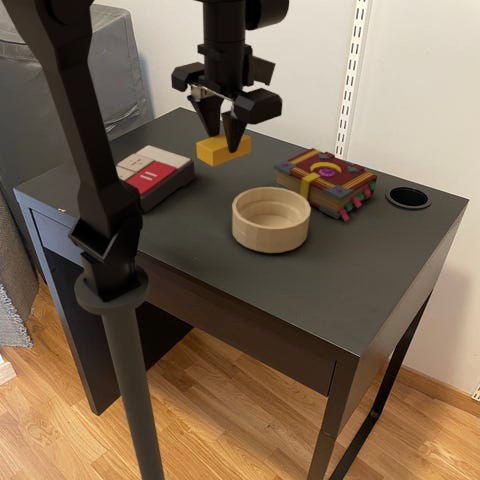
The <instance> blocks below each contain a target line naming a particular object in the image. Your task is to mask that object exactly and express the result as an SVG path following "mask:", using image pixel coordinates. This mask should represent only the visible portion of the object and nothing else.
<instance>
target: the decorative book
mask: <svg viewBox="0 0 480 480" xmlns="http://www.w3.org/2000/svg"><path fill="white" fill-rule="evenodd" d="M273 170H275V171H276V179H275V180H274V181H272V182H271V187H277V188H283V189H287V190H290V191H293V192H295V193H297V194H299V195H301V196H302V197H304V198H305V199H306V200H307V201H308V203H309V205H312V206H313V207H316V208H318V210H319V211H321V212H322V213H324V214H326V215H328V216H330V217H332V218H334V219H336V220H337V219H339V218H341V217H342V219H343V221H344V222H347V221H348V220H350V217H349V215H348V212H350V211H351V210H353V209H354V208H355V207H356V208H359V207H361V206H362V203H363V202H364V201H366V200H368V199H369V198H371V197H373V196H374V192H375V189H377V186H376V184H377V180H378V175H376V174H374V173H372V172H369V171H367V170H365V167H364V166H361V165H359V164H357V163H354V164H351V163H349V162H347V161H344V160H341V159H339V158H337V157H336V154H334V153H331V152H329V151H325V152H323V151H321V150H318V149H316V148H314V147H312V148H310V149H308V150H305V151H304V152H300V153H299V154H297V155H294V156H293V157H291V158H285V159H283V160H281V161H279V162H276V163H275V164H273Z"/></svg>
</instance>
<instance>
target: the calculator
mask: <svg viewBox="0 0 480 480" xmlns="http://www.w3.org/2000/svg"><path fill="white" fill-rule="evenodd" d="M194 161H195V160H193V159H191V158H188V157H187V156H183V155H179V154H177V153H173V152H171V151H167V150H164V149H162V148H158V147H155V146H152V145H149V144H148V145H145V146H144V147H143V148H141V149H140V150H138V151H137V152H135V153H132V154H131V155H129V156H128V157H126V158H125V159H123V160H121V161H120V162H118V163H117V165H116V169H117V173H118V176H119V178H120V179H122V180H124V181H126V182H128V183H129V184H131V185H133V186H135V187H136V188H138V190H139V192H140V197H141V205H142V208H143V210H144V211H145V212H146V213H147V212H149V211H150V210H151V209H153V208H154V207H155V206H156V205H158V204H159V203H161V202H162V201H164V200H165V198H167V197H168V196H170V195H171V194H172V193H173V192H174V191H176V190H178V189H179V188H180V187H185V186H186V185H188V184H189V183H190V182H192V181H193V180H194V179H195V178H196V173H195V171H196V170H195V162H194Z"/></svg>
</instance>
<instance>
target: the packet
mask: <svg viewBox="0 0 480 480" xmlns="http://www.w3.org/2000/svg"><path fill="white" fill-rule="evenodd" d="M251 152H252V136H250V135H248V134H245V132H244V133H243V136H242V138H241V141H240V144H239V146H238V149H237V151H236V152H235V153H230V151H229V148H228V145H227V140H226V136H225V132H222V133H220V135H217V136H214V137H211V138H209V137H208V138H205V139H203V140H199V141H197V142H196V158H197V159H198V160H200V161H202V162H204V163H206V164H207V165H209V166H211V167H212V168H213V167H217V166H219V165H222V164H225V163H226V162H229V161H232V160H234V159H237V158H239V157H241V156H244V155H247V154H250V153H251Z"/></svg>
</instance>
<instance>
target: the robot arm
mask: <svg viewBox="0 0 480 480" xmlns="http://www.w3.org/2000/svg"><path fill="white" fill-rule="evenodd" d="M0 1H1V2H2V3H1V4H2V5H3V6H4V9H5V11H6V12H7V15H8V17H9V18H10V20H11V22H12V24H13V26H14V28H15V30H16V32H17V33H18V36H19V37H20V38H21V39H22V41H23V42H24V43H25V45H26V46H27V48H28V49H29V51H30V52H31V53H32V55H33V56H34V57H35V58H36V60H37V61H38V63H39V64H40V66H41V69H42V71H43V74H44V77H45V80H46V83H47V86H48V89H49V93H50V96H51V99H52V101H53V104H54V107H55V109H56V113H57V116H58V118H59V121H60V124H61V127H62V130H63V133H64V137H65V139H66V142H67V145H68V147H69V151H70V154H71V157H72V159H73V162H74V166H75V168H76V172H77V174H78V178H79V182H80V183H79V187H78V191H77V195H76V200H77V206H78V212H79V213H78V215H77V216H76V219H75V221H74V223H73V224H72V226H71V228H70V230H69V232H68V233H67V238H68V239H69V240H70V241H71V243H72V244H73V245H74V246H76V247H78V248H79V249H80V250H82V251H81V252H80V253H79V255H80V260H81V263H82V267H83V272H84V271H85V275H86V277H85V278H83V283H84V284H85V285H86V286H87V287H88V288H89V289H90V290H91V291H92V292H93V293H94V294H95V295H96V296H97V297H98V298H99V299H100V300H101V301H102V302H103V303H106V302H109V301H111V300H113V299H115V298H117V297H119V296H121V295H123V294H125V293H127V292H129V291H131V290H133V289H135V288H137V287H139V286H141V282H140V281H139V280H138V279H137V278H136V277H135V276H136V275H137V271H136V265H137V264H136V259H135V258H136V257H137V255H138V249H139V244H140V237H141V231H142V230H143V227H144V217H143V216H145V215H147V212H145V211H144V210H143V208H142V205H141V197H140V192H139V190H138V188H136V187H135V186H133V185H131V184H129V183H128V182H126V181H124V180H122V179H120V178H119V176H118V173H117V169H116V166H117V165H116V161H115V158H114V154H113V150H112V147H111V144H110V139H109V135H108V133H107V128H106V125H105V120H104V117H103V114H102V110H101V105H100V103H99V99H98V94H97V91H96V87H95V84H94V81H93V76H92V73H91V68H90V66H89V65H90V64H89V54H90V50H91V45H92V40H93V35H94V29H93V21H92V12H91V6H92V5H93V3H94V2H96V0H0ZM193 1H194V2H198V3H202V32H203V37H202V39H203V43H200V44H199V43H198V44H197V45H196V47H197V49H196V51H197V54H199V55H202V56H203V63H202V62H200V61H196V62H190V63H187V64H182V65H178V66H175V67H174V69H173V71H172V72H171V74H170V81H171V88H172V89H174V90H176V91H178V92H180V93H186V91H187V90H188V88H189V86H190V94H188V95H187V96H186V99H187V101H189V102H190V104H191V106H192V108H193V110H194V111H195V113H196V115H197V116H198V118H199V120H200V122H201V124H202V126H203V128H204V130H205V132H206V134H207V136H208V138H211V137H214V136H217V135H220V134H221V122H222V126H223V130H224V133H225V136H226V140H227V145H228V148H229V151H230V153H235V152H236V151H237V149H238V146H239V144H240V141H241V138H242V136H243V133H244V134H245V132H246V131H245V130H246V128H247V126H248V125H252V126H253V125H254V126H256V125H259V124H263V123H264V122H268V121H270V120H272V119H273V120H274V119H275V118H278V117H282V116H283V115H282V114H283V98H282V96H281V95H280V94H278V93H276V92H273V91H271V90H268V89H266V88H264V87H259V88H256V89H252V90H249V91H245V90H244V87H245V88H246V87H247V88H249V87H253V86H255V82H256V83H261V84H264V85H265V86H268V87H270V85H271V82H272V79H273V75H274V72H275V68H276V64H277V63H276V62H273V61H270V60H267V59H264V58H262V57H259V56H256V55H254V50H253V47H252V46H253V45H250V44H248V43H246V33H247V32H246V31H248V32H249V31H255V30H259V29H263V28H267V27H270V26H274V25H277V24H280V23H281V22H282V21H284V20H285V18H286V17H287V15H288V12H289V9H290V0H193ZM225 100H227V101H228V102H231V106H230V109H229V110H226V111H223V112H222V105H223V104H224V101H225ZM135 264H136V265H135ZM104 299H105V300H104Z"/></svg>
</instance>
